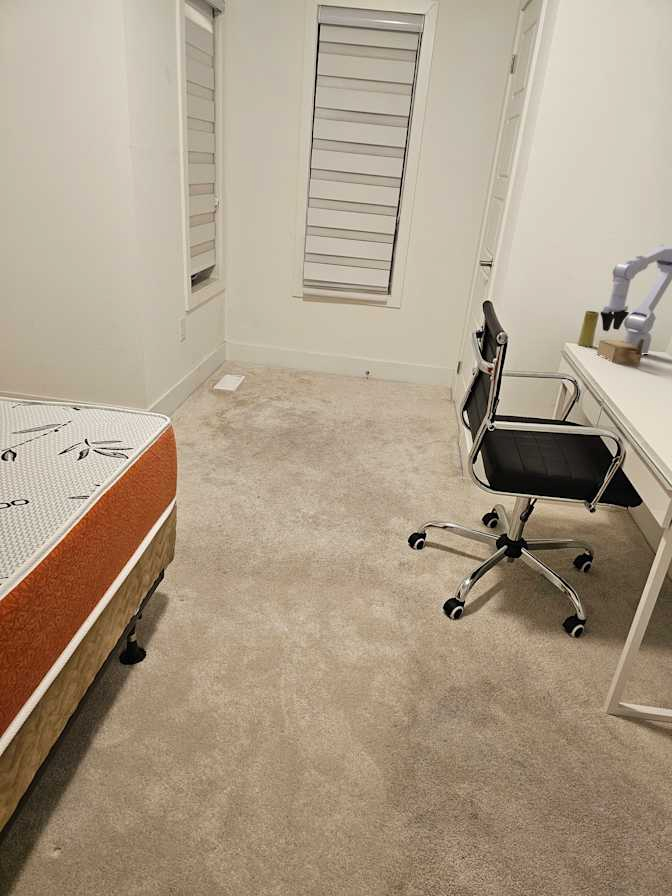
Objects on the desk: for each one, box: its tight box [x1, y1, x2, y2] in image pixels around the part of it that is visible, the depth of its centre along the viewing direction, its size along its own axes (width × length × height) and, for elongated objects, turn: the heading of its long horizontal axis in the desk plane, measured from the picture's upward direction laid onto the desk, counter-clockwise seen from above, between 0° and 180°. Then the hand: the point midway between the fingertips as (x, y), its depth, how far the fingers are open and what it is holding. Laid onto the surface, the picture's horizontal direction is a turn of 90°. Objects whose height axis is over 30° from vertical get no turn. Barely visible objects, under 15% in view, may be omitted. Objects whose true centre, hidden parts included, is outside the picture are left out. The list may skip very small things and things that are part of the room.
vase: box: [577, 310, 600, 347], centre depth 259 cm, size 6×6×14 cm
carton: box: [596, 339, 637, 362], centre depth 241 cm, size 10×11×6 cm
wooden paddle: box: [612, 339, 644, 369], centre depth 230 cm, size 10×2×11 cm, turn 39°
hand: (610, 329), depth 242 cm, fingers open, 7 cm apart
